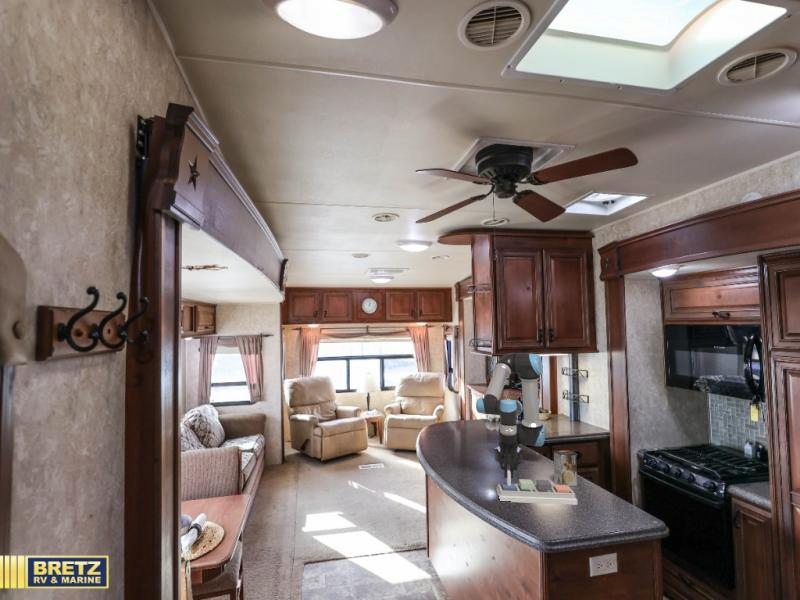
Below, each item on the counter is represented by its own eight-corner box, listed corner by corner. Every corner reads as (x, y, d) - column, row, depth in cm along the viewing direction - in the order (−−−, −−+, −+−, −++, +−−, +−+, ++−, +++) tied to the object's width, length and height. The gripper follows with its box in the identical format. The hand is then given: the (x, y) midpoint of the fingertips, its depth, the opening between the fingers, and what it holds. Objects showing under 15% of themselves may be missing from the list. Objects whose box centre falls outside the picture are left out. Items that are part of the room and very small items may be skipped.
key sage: (519, 484, 202) (518, 479, 202) (531, 485, 202) (531, 479, 202) (521, 489, 196) (521, 483, 197) (533, 489, 196) (533, 484, 196)
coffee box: (569, 481, 219) (568, 449, 220) (577, 485, 213) (577, 453, 214) (553, 483, 217) (553, 450, 217) (561, 487, 210) (561, 454, 211)
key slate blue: (501, 488, 203) (501, 482, 203) (513, 488, 202) (513, 483, 202) (503, 492, 197) (503, 487, 197) (516, 493, 196) (516, 487, 197)
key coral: (553, 490, 201) (553, 484, 201) (566, 490, 200) (565, 485, 200) (557, 494, 195) (557, 489, 195) (569, 495, 194) (569, 489, 195)
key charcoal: (536, 485, 201) (536, 479, 201) (548, 485, 201) (548, 480, 201) (539, 489, 196) (539, 484, 196) (551, 490, 195) (551, 484, 195)
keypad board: (496, 490, 206) (496, 481, 206) (568, 493, 203) (568, 484, 204) (500, 501, 193) (500, 492, 194) (577, 504, 190) (577, 495, 191)
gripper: (495, 435, 198) (495, 487, 196) (524, 435, 197) (524, 488, 195) (493, 431, 205) (493, 481, 204) (520, 431, 204) (521, 482, 203)
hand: (508, 484), depth 200 cm, fingers closed
